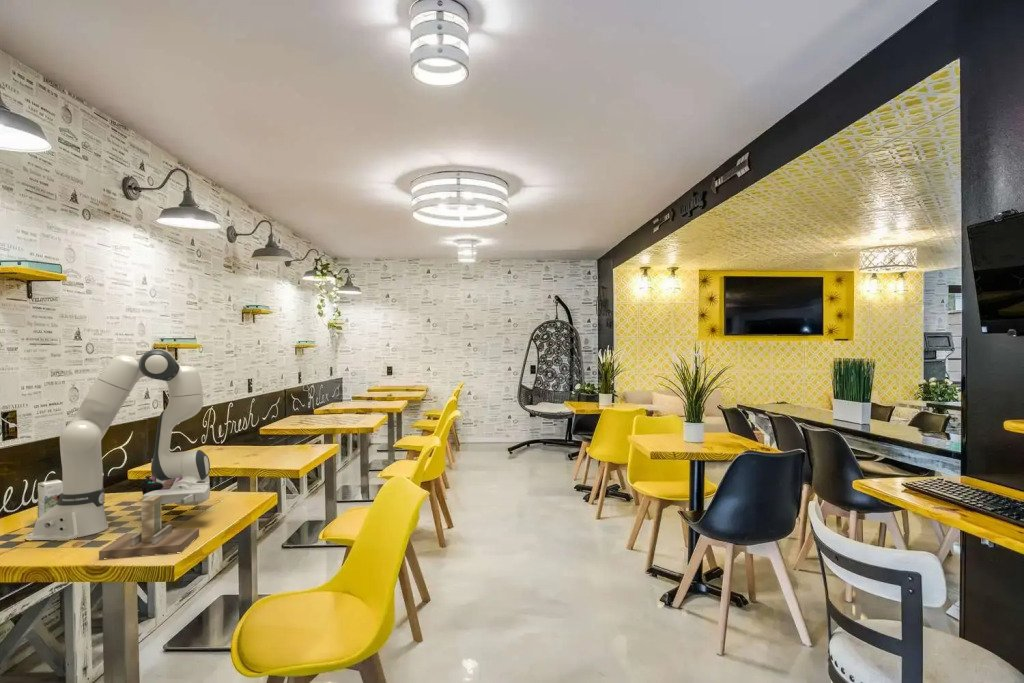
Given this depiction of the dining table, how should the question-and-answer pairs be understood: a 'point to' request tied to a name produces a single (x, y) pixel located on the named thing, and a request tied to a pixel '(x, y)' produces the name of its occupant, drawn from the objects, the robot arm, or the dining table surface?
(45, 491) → the syrup box
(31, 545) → the dining table surface
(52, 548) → the dining table surface
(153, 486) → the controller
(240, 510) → the dining table surface
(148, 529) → the tan wooden block
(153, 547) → the notch board
